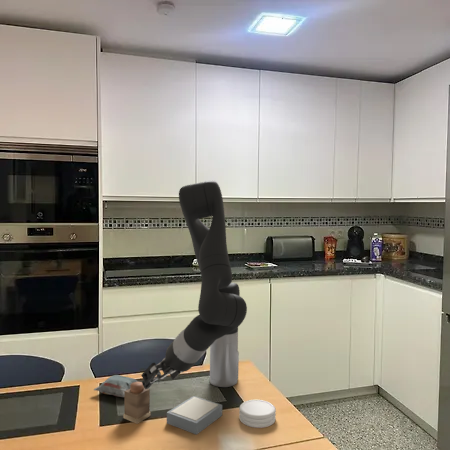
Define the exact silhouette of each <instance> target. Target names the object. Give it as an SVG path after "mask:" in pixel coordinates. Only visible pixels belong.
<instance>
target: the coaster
mask: <svg viewBox="0 0 450 450" xmlns="http://www.w3.org/2000/svg"><path fill="white" fill-rule="evenodd" d="M238 408H239V412H238V413H239V414H238V415H239V416H238V417H239V418H238V419H239V420H240V422H241V423H242V424H244V425H245V426H247V427H250V428H255V429H261V428H262V429H263V428H267V427H270V426H272V425H273V424H275V422H276V419H277V418H276V414H277V413H276V412H277V411H276V406H275V405H273V404H272V403H271V402H269V401H267V400H262V399H250V400H249V399H248V400H245V401H244V402H242V403H241V404H240V405H239V407H238Z"/></svg>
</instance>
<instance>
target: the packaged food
mask: <svg viewBox="0 0 450 450" xmlns="http://www.w3.org/2000/svg"><path fill="white" fill-rule="evenodd" d="M133 382H139V381H138V380H137V379H136V378H133V377H128V376H123V375H119V374H114V375H110V376H109V377H108V378H107V379H106V380H104V381H103V382H102V383H101V384H100V385H99V386H97V387H95V388H94V389H93V391H97V392H100V393H101V394H104V395H108V396H109V395H110V396H114V397H120V398H124V391H126V390H128V389H130V385H131V383H133Z"/></svg>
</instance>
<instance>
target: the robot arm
mask: <svg viewBox="0 0 450 450" xmlns="http://www.w3.org/2000/svg"><path fill="white" fill-rule="evenodd" d="M178 201H179V206H180V208H181V213H182V215H183V217H184V220H185V223H186V226H187V228H188V233H189V235H190V238H191V242H192V246H193V250H194V252H193V253H194V254H195V259H196V263H197V265H198V269H199V272H200V277H201V284H200V294H199V301H198V304H197V305H198V307H197V309H198V313H199V314H198V315H196V316H195V317H194V318H193V319H192V320H191V321H190V322H189V323H188V324H187V326H186V327H185V328H184V329H183V330H181V332H180V333H178V335H177V336H176V337H175V338H174V340H173V341H172V342H171V343H170V344H169V346H168V347H167V348H166V350H165V357H164V358H163V359H162V361H160V362H159V363H157V364H156V362H151V364H150V365H149V366H148V367H147V368H146V369H145V370H144V371H143V372H142V374H141V378H142V381H141V382H142V384H143V386H144V388H145V389H150V387H151V386H152V385H153V384H154V383H155V382H156V381H158V380H163V379H165V378H166V377H167V376H169V375H170V378H171V380H176V378H178V376H180V375H181V374H182V373H184V372H187V371H189V370H190V369H192V367H194V365H196V363H197V362H199V360H200V359H201V358H202V357H203V356H205V355H204V354H205V353H206V352H207V350H208V349H209V384H211V385H213V386H214V387H219V388H228V387H229V388H230V387H234V386H236V385H237V384H238V380H239V362H240V361H239V359H240V358H239V354H240V352H239V347H238V346H239V327H240V325H241V324H242V323H243V322H244V320H245V318H246V316H247V311H248V306H247V303H246V301H245V300H244V298H243V297H242V296H241V294H240V292H241V291H240V287H239V285H238V283H236V282H233V273H232V268H231V267H232V266H231V262H230V258H229V252H228V246H227V233H226V231H227V229H226V215H225V207H224V200H223V195H222V190H221V186H220V185H219V183H218V182H217V181H216V180H207V181H206V180H205V181H202V182H201V181H200V182H196V183H190V184H187V185H184V186H182V187H180V188H179V191H178ZM209 217H212V220H211V224H210V225H209V227H208V226H206V225H205V224H204V223H203V222H202V221H201V219H204V218H209ZM161 371H162V373H161Z"/></svg>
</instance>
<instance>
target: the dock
mask: <svg viewBox="0 0 450 450" xmlns="http://www.w3.org/2000/svg"><path fill="white" fill-rule="evenodd" d="M222 416H223V404H220V403H217V402H214V401H211V400H209V399H205V398H203V397H200V396H196V395H193V396H191V397H189V398H188V399H185V400H184V401H183V402H181V403H180V404H178V405H176V406H175V407H173V408H172V409H170V410H168V411H166V424H168V425H170V426H173V427H176V428H179V429H181V430H184V431H186V432H188V433H191V434H194V435H199V433H201V432H202V431H203V430H204V429H206V428H208V427H209V426H210V425H211V424H213V423H214V422H216V421H217V420H218V419H219V418H220V417H222Z"/></svg>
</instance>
